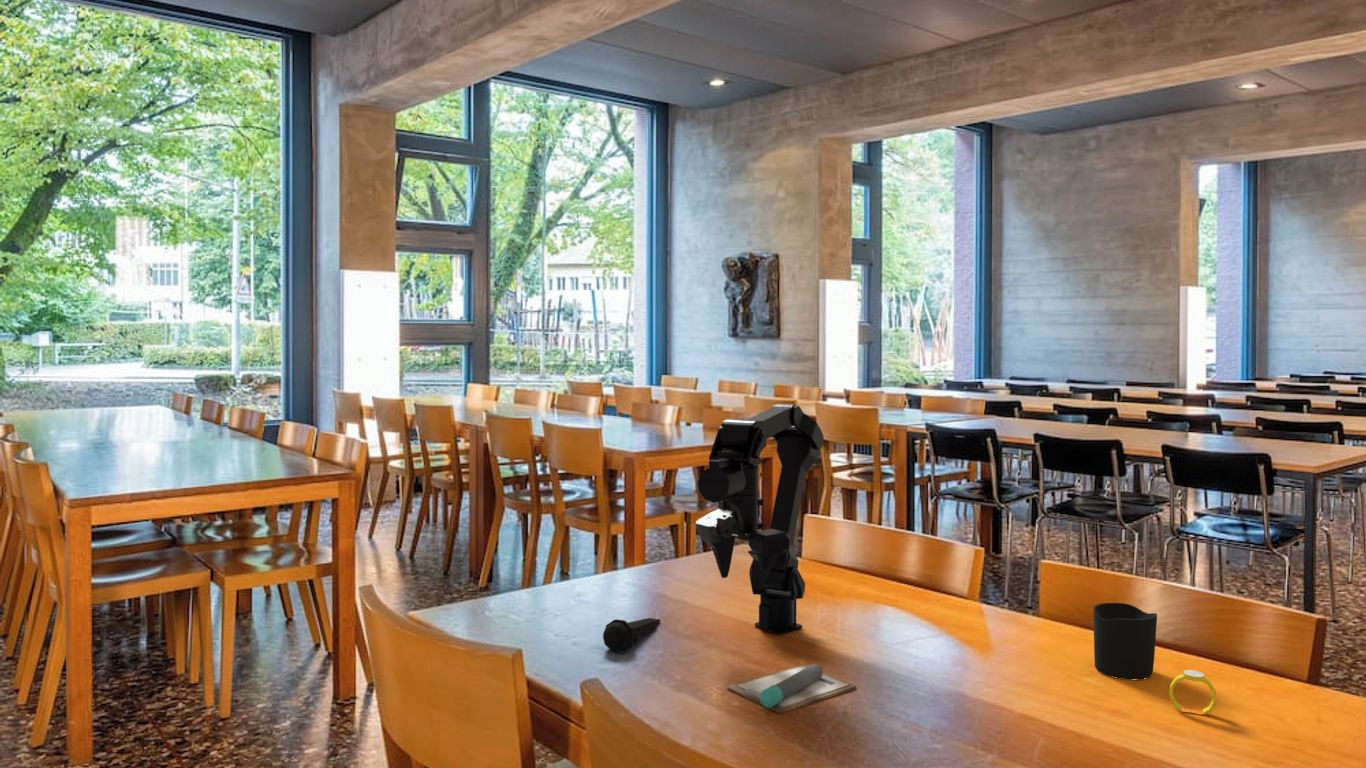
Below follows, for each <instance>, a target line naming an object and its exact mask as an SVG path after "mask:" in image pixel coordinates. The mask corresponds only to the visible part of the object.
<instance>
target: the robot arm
mask: <svg viewBox="0 0 1366 768" xmlns="http://www.w3.org/2000/svg"><path fill="white" fill-rule="evenodd" d="M770 438H773V440H774V441H775V442H776V453H777V456H778V458H779V461H780V463H781V468H780V472H779V478H778V484H777V488H776V493H775V499H774V502H773V503H774V504H773V508H772V515H771V520H770V523H769V529H764V522H761V521H759V506H764V498H761V497H759V465H761V464H763V460H762V457H761V456H760V455H761V454H762V453H761V452H762V451H763V450H764V449H765V448H766V447H767V443H768V442H767V440H768V439H770ZM823 446H824V433H823V431H822V429H821V428H820V426H819V424H818V422H817V421H816V420H814V419H813V418H811V417H810V416H809V415H807V414H806V413H804V412H803V410H802V408H801V406H799V405H797V404H795V403H794V404H791V403H789V404H787V403H776V404H773V405H772V406H771V407H769V408H767V409H766V410H763V411H761V412H759V413H757V414H756V415H755V414H754V415H753V416H750V417H748V418H726V419H724V420H723V421H722V422H721V424H720V426H719V427H718V430H717V432H716V435H715V438H714V441H713V444H712V447H711V451H710V454H709V457H708V460H709V461H708V468H706V469H704V470H703V471H702V472H701V474H700V476H699V478H698V480H697V487H698V488H697V489H698V491H699V494H700V495H701V496H702V497H703V499H705V501H707V502H710V503H717V504H718V505H717V506H718V507H717V509H715V510H713V511H711V512H709V513H707V514H705V515H703V516H702V517H700V518H698V519H697V520H696V521H695V535H697V536H699V538H700V540H701V541H703V542H705V543H706V544H707V545H708V546H710V549H711V551H712V553H713V555H714V558H715V562H716V564H717V567H718V571H719V575H720V577H721V578H722V579H725V578H728V576H729V573H730V570H731V569H730V568H731V563H732V557H733V554H734V548H735V542H736V538H737V539H740V540H744V541H746V542H748V546H749V548H750V550H748V551H747V553H748V554H749V556H751V558H752V562H751V564H750V567H749V573H748V574H749V580H750V586H751V591H752V595H758V596H759V597H760V601H759V602H760V604H758V622H755V623H754V627H756V628H759V629H762V630H764V631H767V632H769V633H773V634H775V635H780V634H784V633H788V632H791V631H794V630H799V629H802V628H803V624H801V623H798V622H797V600H800V599H803V598H804V594H805V591H806V582H805V580H804V579H803V577H802V575H801V573H800V570H799V569H798V568H799V559H798V557H797V553H796V551H795V549H794V542H795V541H794V540H795V536H796V535H795V534H796V530H797V525H798V519H799V514H800V509H801V503H802V499H803V498H802V497H803V493H804V492H803V491H804V488H805V483H806V476H807V473H808V471H809V470H810V469H811V468H812V467H813V466H814V465H815V463H817V462H818V459H819V457H820V456H819V455H820V453H821V452H820V451H821V449H822V448H823ZM763 529H764V530H763Z"/></svg>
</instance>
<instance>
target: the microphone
mask: <svg viewBox="0 0 1366 768" xmlns="http://www.w3.org/2000/svg"><path fill="white" fill-rule="evenodd" d="M660 622H661V619H659V618H654V617H653V618H652V617H647V618H646V617H645V618H643V619H638V620H634V621H629V622H627V620H623V619H613V620H612V621H609V623H607V624H606V625H605V628H604V630H603V634H602V639H603V643H604V645H605V646H606V647H607V648H608V649H609V650H610V651H612V652H617V653H624V652H626V651H628V650H629V649H631V648H632V646H633V644H634V642H636V641H638V640H639V639H640V637H642V636H644V635H646V634H647V633H649V632H651V631H653V630H654V629H656V627H657V625H658V624H659V623H660Z"/></svg>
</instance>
